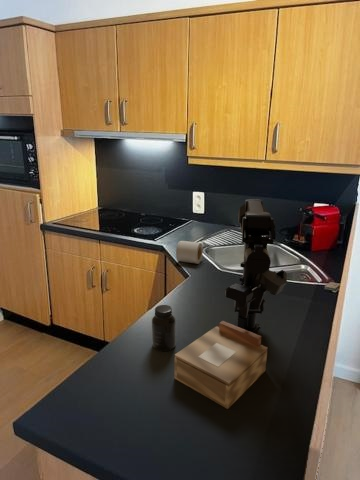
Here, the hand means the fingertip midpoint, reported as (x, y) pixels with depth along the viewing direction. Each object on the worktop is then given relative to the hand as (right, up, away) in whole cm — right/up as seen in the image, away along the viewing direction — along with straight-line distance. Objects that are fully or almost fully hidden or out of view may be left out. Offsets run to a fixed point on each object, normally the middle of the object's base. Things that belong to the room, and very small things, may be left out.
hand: (251, 312), depth 98 cm
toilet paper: (-15, +9, +74) cm, 76 cm away
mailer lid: (-9, -8, -9) cm, 15 cm away
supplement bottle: (-24, -11, +6) cm, 27 cm away
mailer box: (-9, -14, -7) cm, 18 cm away
